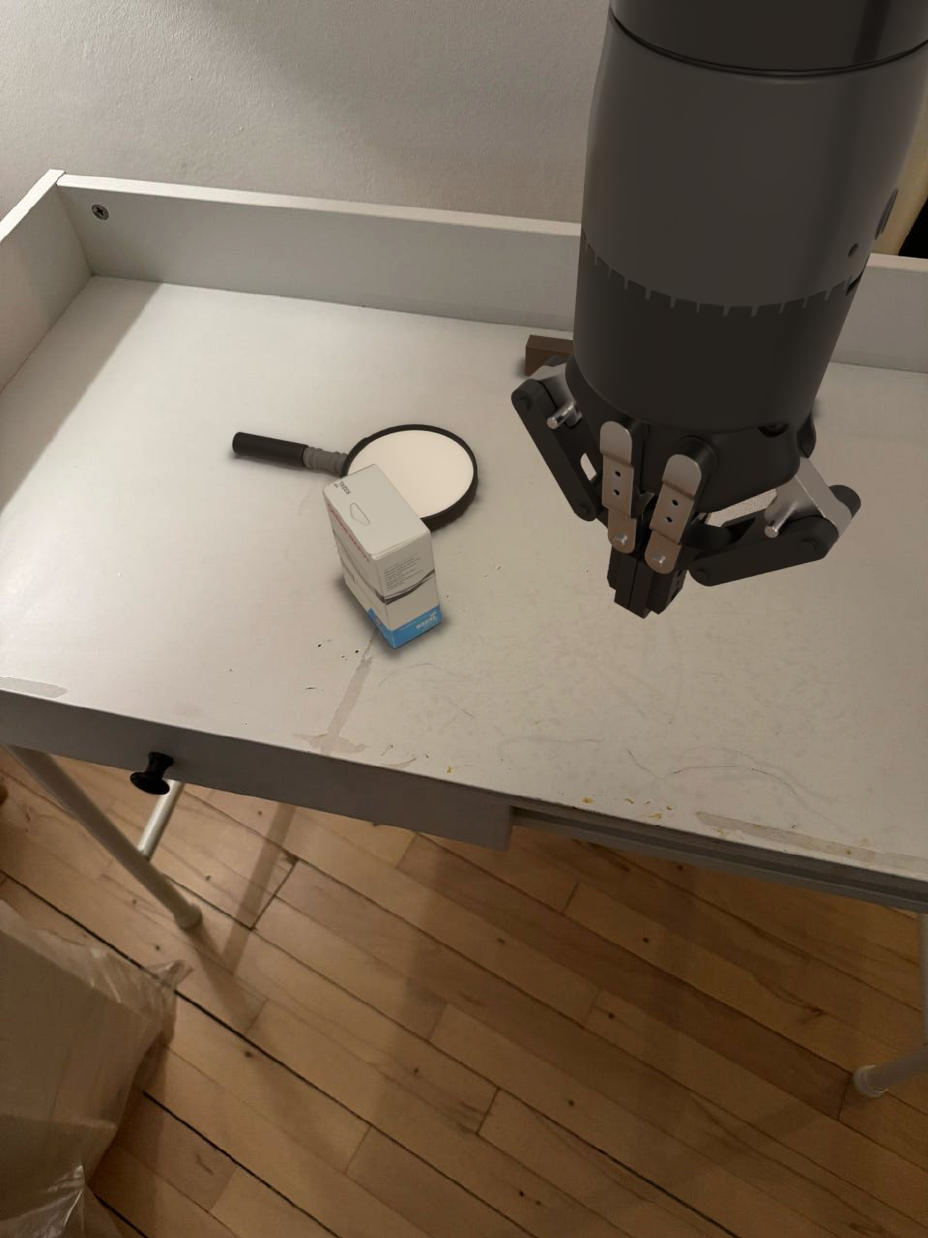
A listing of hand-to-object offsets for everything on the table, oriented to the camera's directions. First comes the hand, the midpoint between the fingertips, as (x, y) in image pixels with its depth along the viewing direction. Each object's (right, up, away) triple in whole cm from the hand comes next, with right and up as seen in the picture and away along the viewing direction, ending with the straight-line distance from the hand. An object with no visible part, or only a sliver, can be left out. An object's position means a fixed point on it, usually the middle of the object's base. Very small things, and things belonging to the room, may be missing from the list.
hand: (641, 598), depth 36 cm
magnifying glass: (-18, +13, +43) cm, 48 cm away
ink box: (-14, 0, +34) cm, 37 cm away
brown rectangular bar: (+12, +22, +48) cm, 54 cm away
